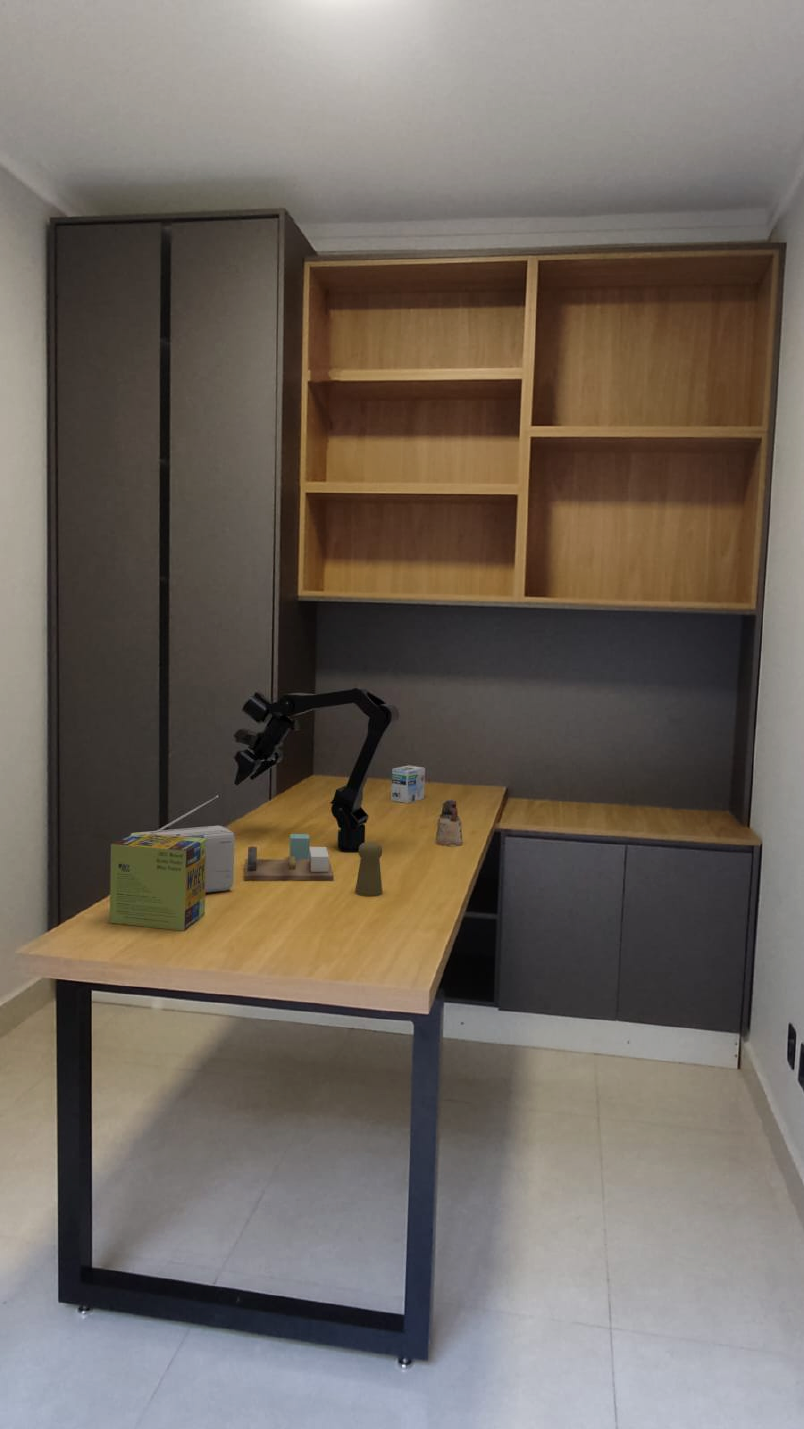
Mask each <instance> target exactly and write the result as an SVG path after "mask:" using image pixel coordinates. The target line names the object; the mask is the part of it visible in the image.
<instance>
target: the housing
mask: <svg viewBox="0 0 804 1429" xmlns="http://www.w3.org/2000/svg"><path fill="white" fill-rule="evenodd" d="M329 861H330V856H329V852H328V848H327V846H309V863H311V872H328V871H329Z"/></svg>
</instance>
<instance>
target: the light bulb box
mask: <svg viewBox="0 0 804 1429" xmlns="http://www.w3.org/2000/svg"><path fill="white" fill-rule="evenodd" d="M425 776H426V767H424V766H423V767H421V766H415V765H409V764H408V765H406V766H399V767H395V768H392V770H391V789H390V790H391V793H390V796H391V797H390V800H391V801H393V802H399V803H402V804H403V803H404V804H409V803H414V802H418V801H422V799H423V800H424V798H425V797H424V796H425V781H426V780H425V779H426V777H425Z"/></svg>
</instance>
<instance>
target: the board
mask: <svg viewBox="0 0 804 1429" xmlns="http://www.w3.org/2000/svg"><path fill="white" fill-rule="evenodd" d="M247 848H248V849H247V858H245V859H244V870H243V872H244V873H243V881H244V882H259V881H260V882H262V881H263V882H267V881H268V882H270V881H271V882H272V881H273V882H274V881H275V882H276V881H277V880H282V882H285V880H310V881H309V882H312V881H313V882H314V881H317V882H319V881H320V882H321V881H322V882H325V881H326V882H333V881H334V880H335V879H334V876H335V875H334V871H333V869H332V865H331V862H330V860H329V871H328V872H311V863H309V859H295V857H294V856H290V855H289V856H288V857H287V858H288V859H286V858H284V859H283V858H281V859H279V858H277V859H276V858H274V859H265V858H264V859H258V857H257V856H258V852H257V850H258V847H257V846H248V847H247ZM250 880H251V881H250ZM255 880H256V881H255ZM277 882H278V881H277Z"/></svg>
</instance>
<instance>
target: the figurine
mask: <svg viewBox="0 0 804 1429" xmlns="http://www.w3.org/2000/svg"><path fill="white" fill-rule="evenodd" d="M457 803H458V802H457V801H456V800H454V799H447V800H446V801H444V802H443V803H442V807H441V808H442V809H441V813H440V814H439V819H438V821H437V829H436V834H435V843H436V844H437V845H440V846H443V845H459V846H461V845H462V844H463V833H462V831H463V830H462V822H461V819H460V816H459V815H458V808H457Z"/></svg>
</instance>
